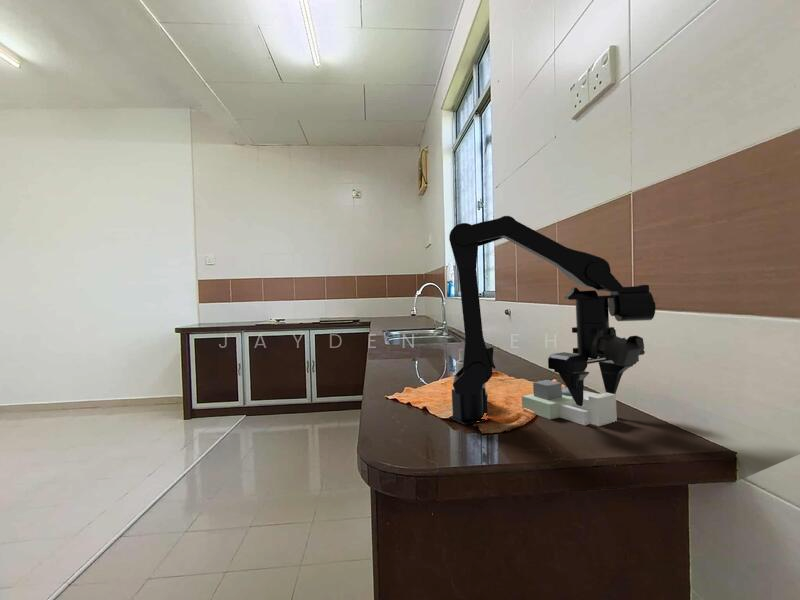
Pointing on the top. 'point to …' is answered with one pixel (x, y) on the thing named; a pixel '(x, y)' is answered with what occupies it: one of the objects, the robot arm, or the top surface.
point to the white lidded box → (599, 407)
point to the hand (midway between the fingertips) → (595, 402)
